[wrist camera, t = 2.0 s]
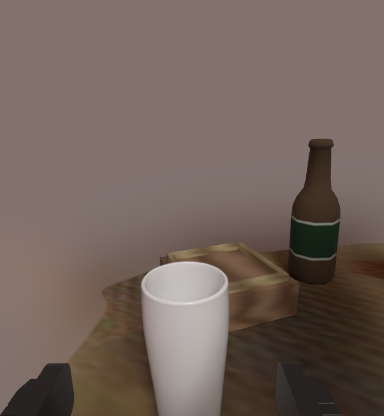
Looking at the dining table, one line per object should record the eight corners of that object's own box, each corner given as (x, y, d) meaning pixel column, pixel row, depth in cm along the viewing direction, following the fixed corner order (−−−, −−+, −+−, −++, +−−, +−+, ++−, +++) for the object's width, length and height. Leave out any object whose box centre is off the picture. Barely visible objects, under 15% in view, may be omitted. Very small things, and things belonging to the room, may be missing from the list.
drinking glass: (139, 423, 28) (126, 274, 24) (199, 388, 31) (196, 254, 27) (176, 494, 22) (167, 316, 18) (244, 442, 26) (248, 283, 22)
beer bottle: (311, 262, 59) (320, 138, 53) (344, 279, 52) (359, 138, 46) (279, 270, 56) (285, 139, 50) (309, 289, 49) (321, 140, 43)
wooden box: (242, 268, 58) (243, 238, 56) (296, 314, 43) (299, 276, 42) (161, 283, 53) (159, 252, 51) (191, 342, 38) (190, 299, 36)
